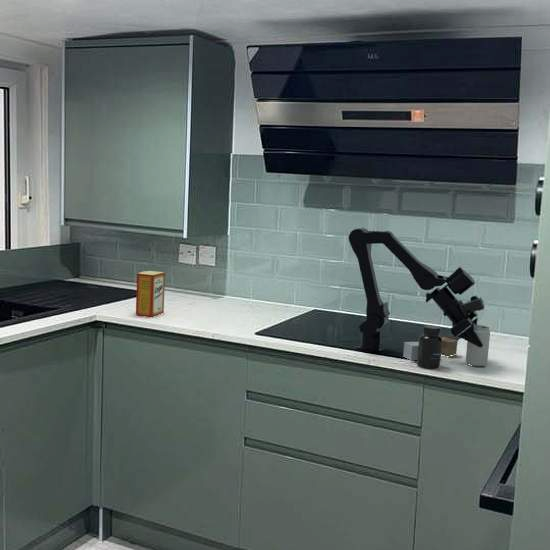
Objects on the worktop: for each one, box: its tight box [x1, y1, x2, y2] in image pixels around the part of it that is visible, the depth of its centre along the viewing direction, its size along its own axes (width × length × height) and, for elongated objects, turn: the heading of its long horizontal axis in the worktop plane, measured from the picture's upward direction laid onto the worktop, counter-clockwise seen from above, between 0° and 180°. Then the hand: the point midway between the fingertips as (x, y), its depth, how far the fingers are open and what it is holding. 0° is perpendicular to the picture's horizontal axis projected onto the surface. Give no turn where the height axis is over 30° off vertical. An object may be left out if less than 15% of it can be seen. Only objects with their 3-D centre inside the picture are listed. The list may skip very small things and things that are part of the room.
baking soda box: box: [135, 270, 166, 318], centre depth 267 cm, size 10×6×16 cm
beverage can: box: [465, 324, 491, 367], centre depth 218 cm, size 6×6×12 cm
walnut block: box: [441, 336, 458, 356], centre depth 230 cm, size 5×5×5 cm
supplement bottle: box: [416, 325, 443, 370], centre depth 214 cm, size 7×7×12 cm
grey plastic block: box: [402, 341, 419, 362], centre depth 222 cm, size 5×5×5 cm
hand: (482, 344), depth 218 cm, fingers closed on beverage can, 6 cm apart
